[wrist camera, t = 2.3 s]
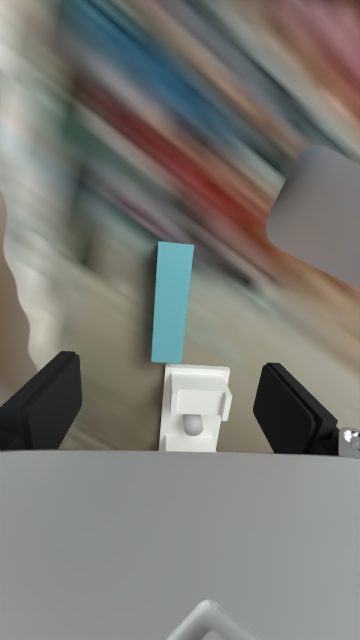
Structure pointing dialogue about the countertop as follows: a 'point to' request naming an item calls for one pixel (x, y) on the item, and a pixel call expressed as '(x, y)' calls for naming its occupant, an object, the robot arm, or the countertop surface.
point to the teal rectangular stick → (171, 301)
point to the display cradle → (193, 407)
